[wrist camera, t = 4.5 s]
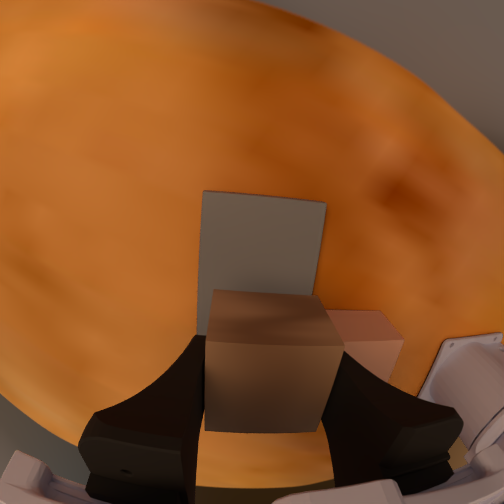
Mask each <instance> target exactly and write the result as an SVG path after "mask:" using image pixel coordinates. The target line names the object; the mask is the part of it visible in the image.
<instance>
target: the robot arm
mask: <svg viewBox="0 0 504 504" xmlns="http://www.w3.org/2000/svg"><path fill="white" fill-rule="evenodd" d="M502 338H503V334H502V333H501V332H499V333H493V334H486V335H478V336H471V337H462V338H453V339H447V340H445V341H444V342H443V344H442V346H441V348H440V351H439V353H438V355H437V357H436V360H435V362H434V364H433V366H432V369H431V371H430V373H429V375H428V377H427V379H426V381H425V383H424V385H423V387H422V389H421V391H420V393H419V395H418V397H415V396H412V395H410V394H408V393H406V392H403V391H401V390H399V389H397V388H395V387H394V386H392V385H390V384H388V383H387V382H385V381H383V380H382V379H380V378H379V377H377V376H376V375H374V374H373V373H371V372H370V371H369V370H367V369H366V368H365V367H363V366H362V365H361V364H360V363H358V362H357V361H356V360H355V359H353V358H352V357H351V356H350V355H349V354H348V353H346V352H345V351H343V355H342V358H341V361H340V364H339V368H338V371H337V374H336V377H335V380H334V383H333V386H332V389H331V392H330V395H329V398H328V400H327V403H326V406H325V409H324V411H323V414H322V417H321V420H322V423H323V426H324V429H325V432H326V435H327V439H328V443H329V449H330V454H331V460H332V466H333V473H334V481H335V488H330V489H323V490H315V491H306V492H301V493H295V494H290V495H287V496H285V497H282V498H279V499H277V500H275V501H274V502H273V503H272V504H504V345H503V344H502V343H500V342H501V340H502ZM205 346H206V335H195V336H194V337H193V338H192V340H191V342H190V343H189V345H188V346H187V347H186V349H185V350H184V351H183V353H182V354H181V355H180V356H179V358H178V359H177V360H176V361H175V362H174V363H173V364H172V365H171V366H170V367H169V369H168V370H167V371H166V372H165V373H164V374H162V375H161V376H160V377H159V378H158V379H157V380H156V381H154V382H153V383H152V384H151V385H149V386H148V387H146V388H145V389H144V390H142V391H141V392H139V393H138V394H136V395H134V396H133V397H131V398H129V399H127V400H125V401H123V402H121V403H119V404H117V405H114V406H112V407H109V408H106V409H104V410H101V411H98V412H95V413H94V414H93V416H92V417H91V419H90V420H89V422H88V424H87V425H86V427H85V429H84V431H83V434H82V436H81V438H80V441H79V444H78V449H79V452H80V454H81V456H82V458H83V459H84V461H85V463H86V465H87V467H88V468H89V470H90V472H91V473H90V476H89V479H88V482H87V485H86V486H85V485H81V484H78V483H75V482H73V481H70V480H67V479H64V478H62V477H59V476H56V475H54V474H52V472H51V470H50V468H49V467H48V466H47V465H46V464H45V463H44V462H42V461H41V460H39V459H36V458H34V457H32V456H30V455H28V454H25V453H23V452H21V451H19V450H15V452H14V454H13V456H12V458H11V460H10V462H9V463H8V465H7V467H6V469H5V471H4V473H3V475H2V477H1V479H0V504H195V486H196V468H197V454H198V441H199V434H200V428H201V423H202V418H203V413H204V408H205ZM436 403H437V404H436ZM458 436H459V437H460V438H461V440H462V441H463V443H464V445H465V446H466V448H467V449H468V452H467V454H466V455H464V458H465V460H466V461H467V463H468V464H467V465H464V466H462V467H460V468H458V469H455V470H452V468H451V466H450V465H449V463H448V461H447V460H449V459H450V455H449V453H448V450H449V448H450V447H451V446H452V445H453V443H454V442H455V440H456V439H457V437H458Z"/></svg>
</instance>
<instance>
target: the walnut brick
mask: <svg viewBox="0 0 504 504" xmlns="http://www.w3.org/2000/svg"><path fill="white" fill-rule="evenodd" d="M344 348H345V344H344V343H343V341H342V339H341V337H340V335H339V334H338V332H337V330H336V328H335V326H334V324H333V323H332V321H331V319H330V317H329V315H328V314H327V312H326V310H325V308H324V307H323V305H322V303H321V301H320V299H319V298H318V296H314V295H295V294H277V293H261V292H246V291H232V290H219V289H214V290H213V296H212V302H211V309H210V315H209V322H208V328H207V335H206V346H205V431H215V432H233V433H300V432H316V430H317V427H318V425H319V422H320V420H321V417H322V414H323V411H324V409H325V406H326V403H327V400H328V398H329V395H330V392H331V389H332V386H333V383H334V380H335V377H336V374H337V371H338V368H339V364H340V361H341V358H342V355H343V351H344Z"/></svg>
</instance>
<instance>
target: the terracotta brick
mask: <svg viewBox="0 0 504 504" xmlns="http://www.w3.org/2000/svg"><path fill="white" fill-rule="evenodd" d="M326 312H327V314H328V315H329V317H330V319H331V321H332V323H333V324H334V326H335V328H336V330H337V332H338V334H339V335H340V337H341V339H342V341H343V343H344V344H345V348H344V351H345V352H346V353H348V354H349V355H350V356H351V357H352V358H353V359H355V360H356V361H357V362H358V363H360V364H361V365H362V366H363V367H365V368H366V369H367V370H369V371H370V372H371V373H373V374H374V375H376V376H377V377H379V378H380V379H382V380H383V381H385V382H388V380H389V378H390V375H391V373H392V371H393V368H394V366H395V363H396V361H397V358H398V356H399V353H400V351H401V348H402V345H403V343H404V338H403V337H402V336H401V335H400V334H399V332H398V331H397V330H396V329H395V328H394V326H393V325H392V324H391V323H390V322H389V321H388V319H387V318H386V317H385V316H384V315H383V313H382V312H381V311H361V310H326Z"/></svg>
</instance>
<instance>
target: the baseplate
mask: <svg viewBox="0 0 504 504" xmlns="http://www.w3.org/2000/svg"><path fill="white" fill-rule="evenodd" d="M326 205H327V203H325V202H322V201H314V200H305V199H297V198H288V197H278V196H268V195H258V194H247V193H235V192H223V191H210V190H204V191H203V199H202V214H201V230H200V249H199V271H198V301H197V335H207V328H208V322H209V315H210V309H211V302H212V296H213V290H214V289H219V290H232V291H246V292H261V293H277V294H295V295H312V291H313V286H314V280H315V275H316V269H317V263H318V257H319V251H320V245H321V239H322V232H323V226H324V219H325V212H326Z"/></svg>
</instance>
